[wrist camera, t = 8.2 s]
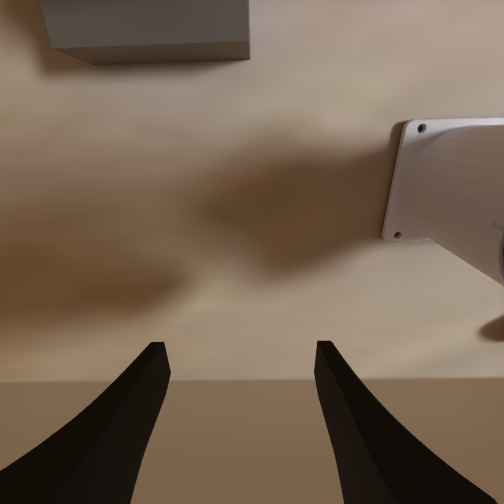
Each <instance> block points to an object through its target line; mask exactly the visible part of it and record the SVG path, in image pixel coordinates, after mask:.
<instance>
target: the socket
mask: <svg viewBox="0 0 504 504" xmlns="http://www.w3.org/2000/svg"><path fill="white" fill-rule="evenodd" d="M38 2H39V5H40V9H41V12H42V16H43V19H44V23H45V26H46V30H47V33H48V37H49V40H50V44H51V47H52V49H55V50H57V51H60V52H63V53H65V54H68V55H70V56H73V57H75V58H78V59H81V60H83V61H86V62H88V63H91V64H93V65H97V64H125V63H153V62H182V61H210V60H238V59H250V29H249V0H38Z"/></svg>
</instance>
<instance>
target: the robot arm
mask: <svg viewBox="0 0 504 504" xmlns="http://www.w3.org/2000/svg"><path fill="white" fill-rule="evenodd" d="M420 124H422V126H423V129H422V131H421V132H418V126H419V125H420ZM396 232H399V234H398V235H397V236H395V237H394V235H395V233H396ZM382 237H383V239H385V240H386V241H434V242H436V243H437V244H439V245H440V246H442V247H444V248H445V249H447V250H448V251H450V252H451V253H453V254H455V255H456V256H458V257H459V258H461V259H462V260H464V261H465V262H467V263H469V264H470V265H472V266H473V267H475V268H476V269H478V270H480V271H481V272H483V273H484V274H486V275H487V276H489V277H490V278H492V279H494V280H495V281H497V282H498V283H500V284H501V285H503V286H504V117H484V118H450V119H416V120H409V121H408V122H406V123H405V125H404V126H403V129H402V134H401V139H400V144H399V149H398V154H397V159H396V165H395V170H394V175H393V180H392V185H391V190H390V195H389V200H388V205H387V210H386V215H385V220H384V225H383V230H382ZM170 375H171V371H170V366H169V362H168V357H167V353H166V348H165V344H164V342H151V343H150V344H149V345H148V346H147V347H146V348H145V349H144V350H143V351H142V352H141V354H140V355H139V356H138V357H137V358H136V359H135V360H134V361H133V362H132V363H131V364H130V365H129V366H128V368H127V369H126V370H125V371H124V372H123V373H122V374H121V375H120V376H119V377H118V378H117V379H116V380H115V381H114V382H113V383H112V384H111V385H110V386H109V387H108V388H107V389H106V390H105V391H104V392H103V393H102V394H100V395H99V396H98V397H97V398H96V399H95V400H94V401H93V402H92V403H91V404H90V405H89V406H87V407H86V408H85V409H84V410H83V411H82V412H81V413H79V414H78V415H77V416H76V417H75V418H74V419H72V420H71V421H70V422H68V423H67V424H66V425H64V426H63V427H62V428H61V429H59V430H58V431H57V432H55V433H54V434H53V435H51V436H50V437H49V438H48V439H46V440H45V441H43V442H42V443H41V444H39V445H38V446H37V447H35V448H34V449H32V450H31V451H30V452H28V453H27V454H25V455H24V456H22V457H21V458H19V459H18V460H16V461H15V462H13V463H12V464H10V465H9V466H7V467H6V468H4V469H3V470H1V471H0V504H130V502H131V499H132V494H133V490H134V487H135V483H136V480H137V476H138V472H139V469H140V465H141V462H142V458H143V456H144V453H145V449H146V447H147V444H148V441H149V438H150V436H151V433H152V431H153V428H154V425H155V422H156V419H157V417H158V414H159V412H160V409H161V406H162V403H163V401H164V398H165V395H166V391H167V387H168V383H169V379H170ZM314 375H315V381H316V387H317V392H318V397H319V401H320V404H321V408H322V411H323V415H324V418H325V422H326V425H327V429H328V433H329V435H330V439H331V443H332V447H333V450H334V454H335V459H336V463H337V468H338V473H339V478H340V483H341V488H342V494H343V499H344V504H498V503H497V502H496V501H495V499H493V498H492V497H491V496H489V495H488V494H487V493H485V492H484V491H483V490H481V489H480V488H478V487H477V486H476V485H474V484H473V483H472V482H470V481H469V480H467V479H466V478H465V477H463V476H462V475H461V474H459V473H458V472H457V471H455V470H454V469H453V468H451V467H450V466H449V465H447V463H445V462H444V461H443V460H442V459H440V458H439V457H438V456H437V455H435V454H434V453H433V452H432V451H431V450H430V449H428V448H427V447H426V446H425V445H424V444H423V443H422V442H420V441H419V440H418V439H417V438H416V437H415V436H413V435H412V434H411V433H410V432H409V431H408V430H407V429H406V428H405V427H404V426H403V425H402V424H401V423H400V422H399V421H397V420H396V419H395V418H394V417H393V416H392V415H391V414H390V413H389V412H388V411H387V410H386V408H385V407H384V406H383V405H382V404H381V403H380V402H379V401H378V400H377V399H376V398H375V396H373V394H372V393H371V392H370V391H369V390H368V389H367V388H366V386H365V385H364V384H363V383H362V381H361V380H360V379H359V378H358V376H357V375H356V374H355V373H354V371H353V370H352V369H351V368H350V366H349V365H348V364H347V362H346V361H345V360H344V358H343V357H342V355H341V354H340V353H339V351H338V350H337V348H336V347H335V345H334V344H333V343H332V342H331V341H317V349H316V359H315V368H314Z"/></svg>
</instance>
